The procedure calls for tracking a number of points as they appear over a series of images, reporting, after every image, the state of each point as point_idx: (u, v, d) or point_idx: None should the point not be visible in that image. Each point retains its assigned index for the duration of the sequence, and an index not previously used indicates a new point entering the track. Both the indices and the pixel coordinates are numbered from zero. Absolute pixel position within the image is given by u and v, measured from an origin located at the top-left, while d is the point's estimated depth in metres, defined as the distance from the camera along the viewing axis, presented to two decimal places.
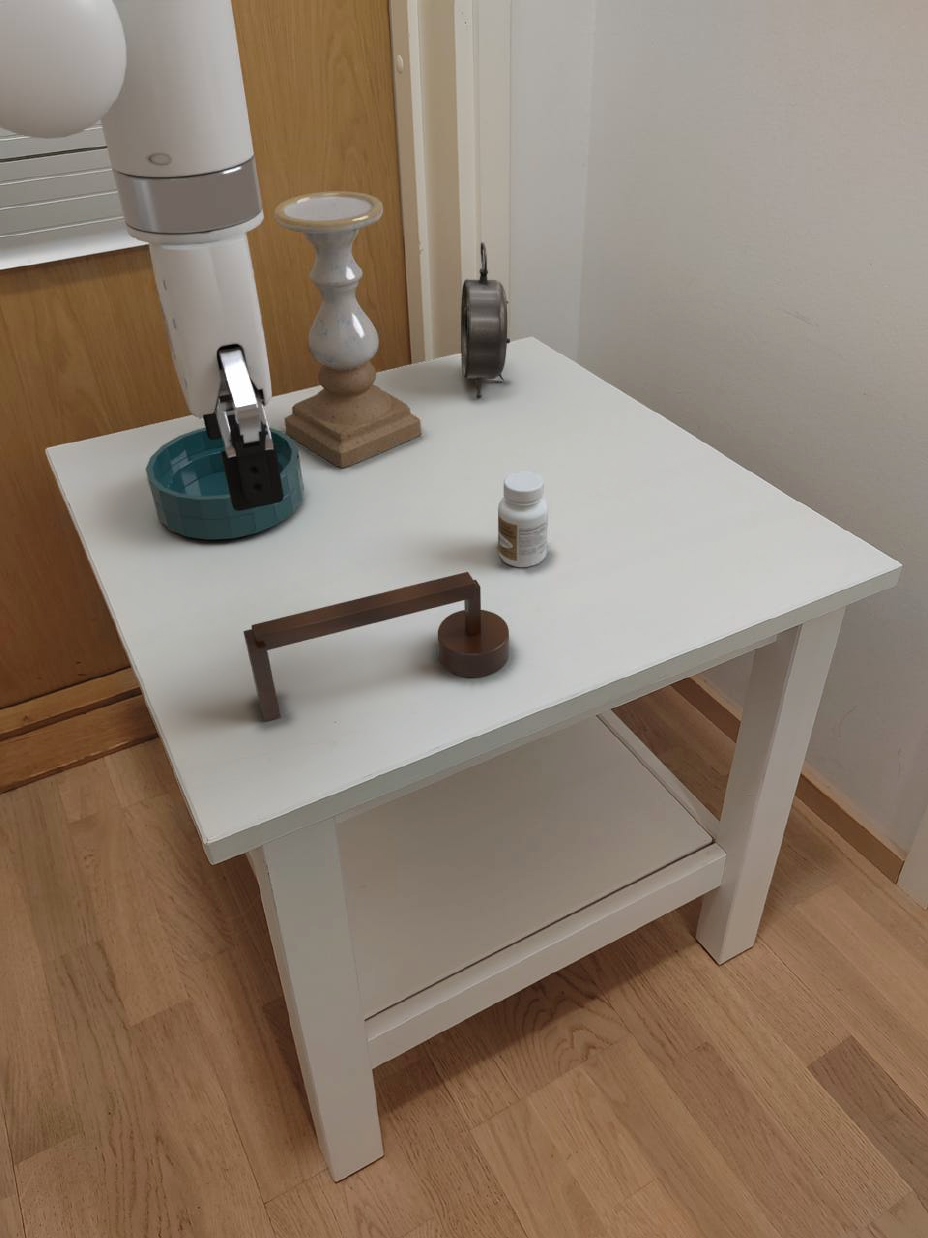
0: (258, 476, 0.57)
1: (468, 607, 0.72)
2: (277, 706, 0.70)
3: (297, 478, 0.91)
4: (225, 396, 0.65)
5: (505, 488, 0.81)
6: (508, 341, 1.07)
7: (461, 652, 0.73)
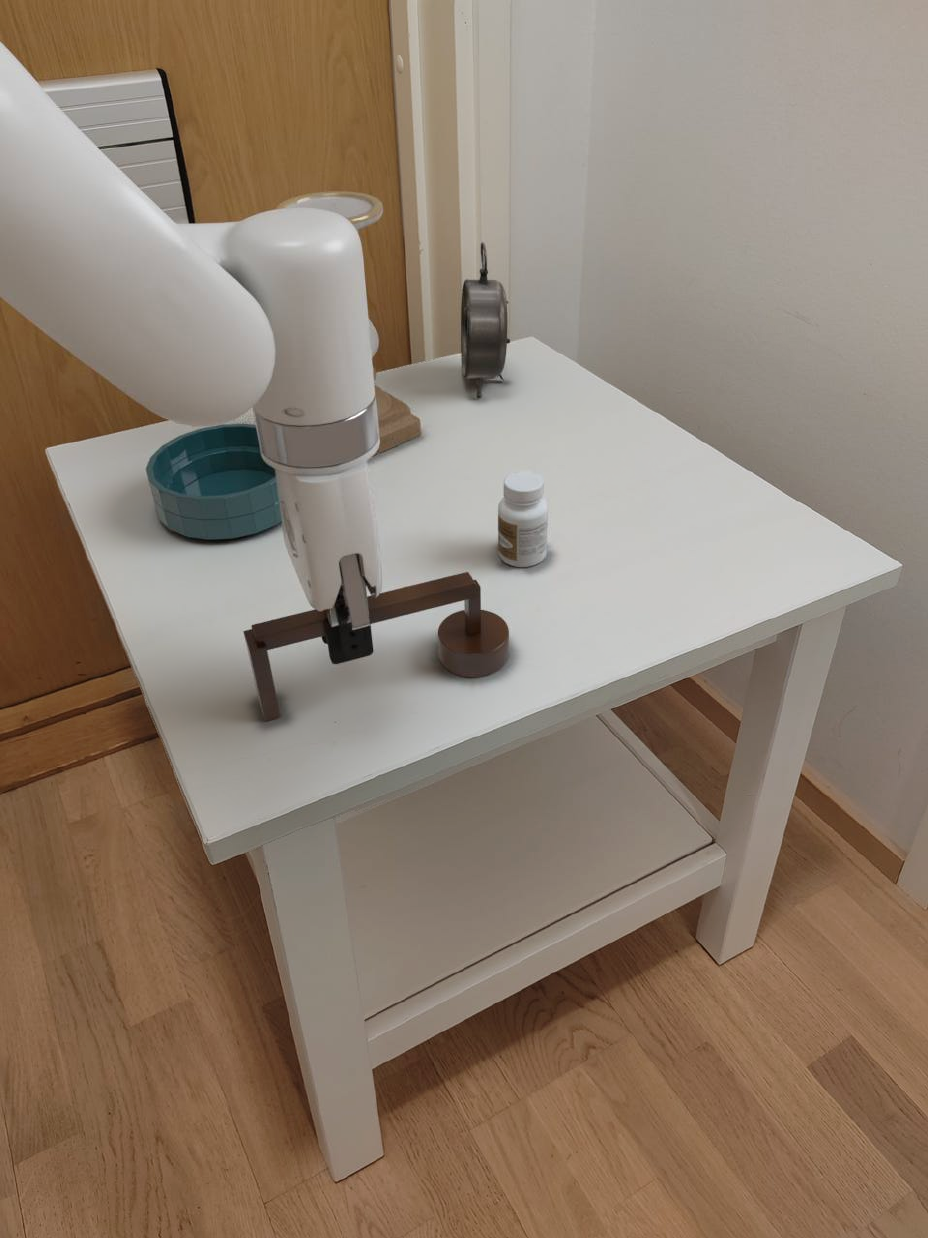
0: (355, 639, 0.68)
1: (468, 607, 0.72)
2: (277, 706, 0.70)
3: None
4: None
5: (505, 488, 0.81)
6: (508, 341, 1.07)
7: (461, 652, 0.73)
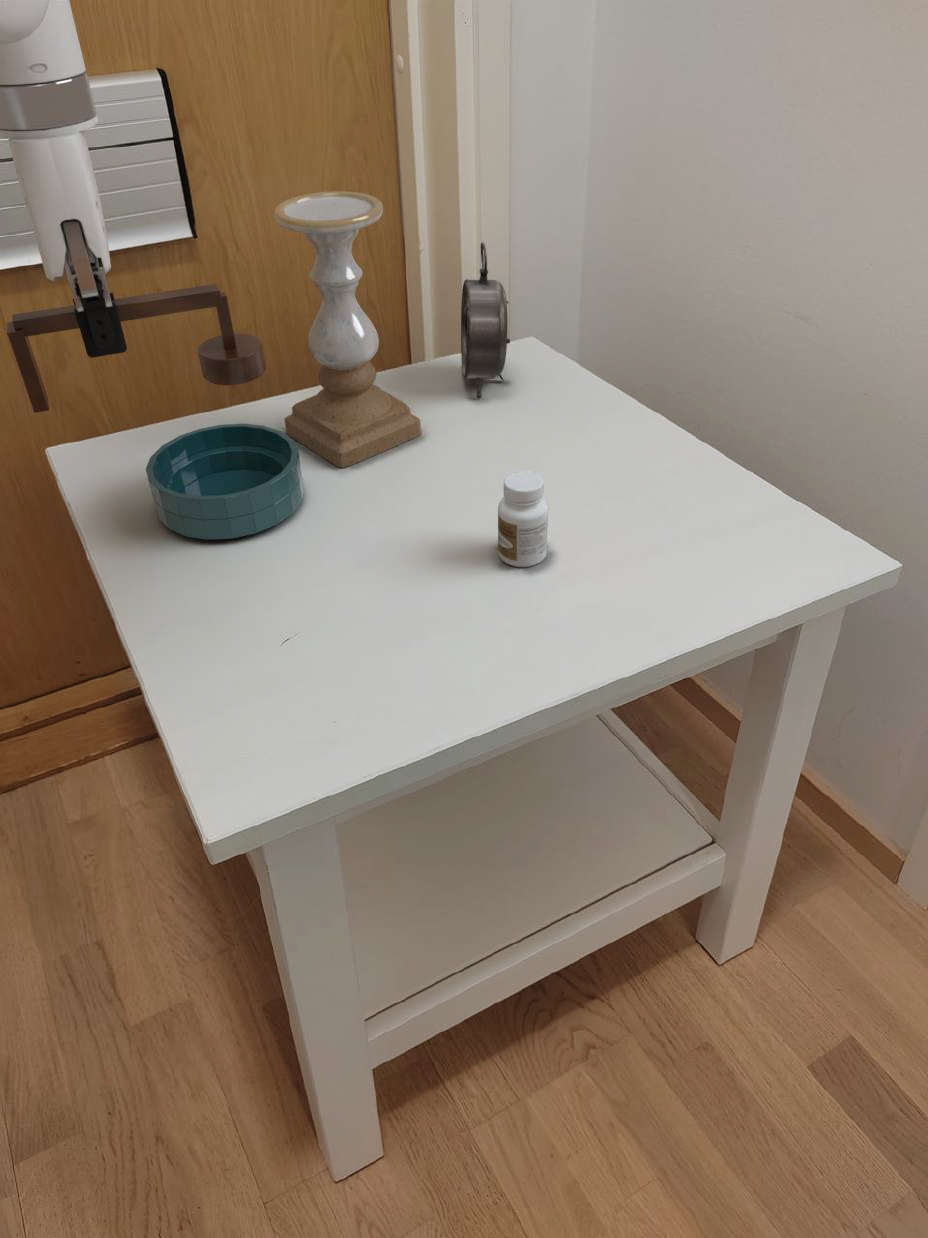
0: (103, 328, 0.77)
1: (219, 317, 0.82)
2: (43, 397, 0.80)
3: (297, 478, 0.91)
4: None
5: (505, 488, 0.81)
6: (508, 341, 1.07)
7: (213, 358, 0.82)
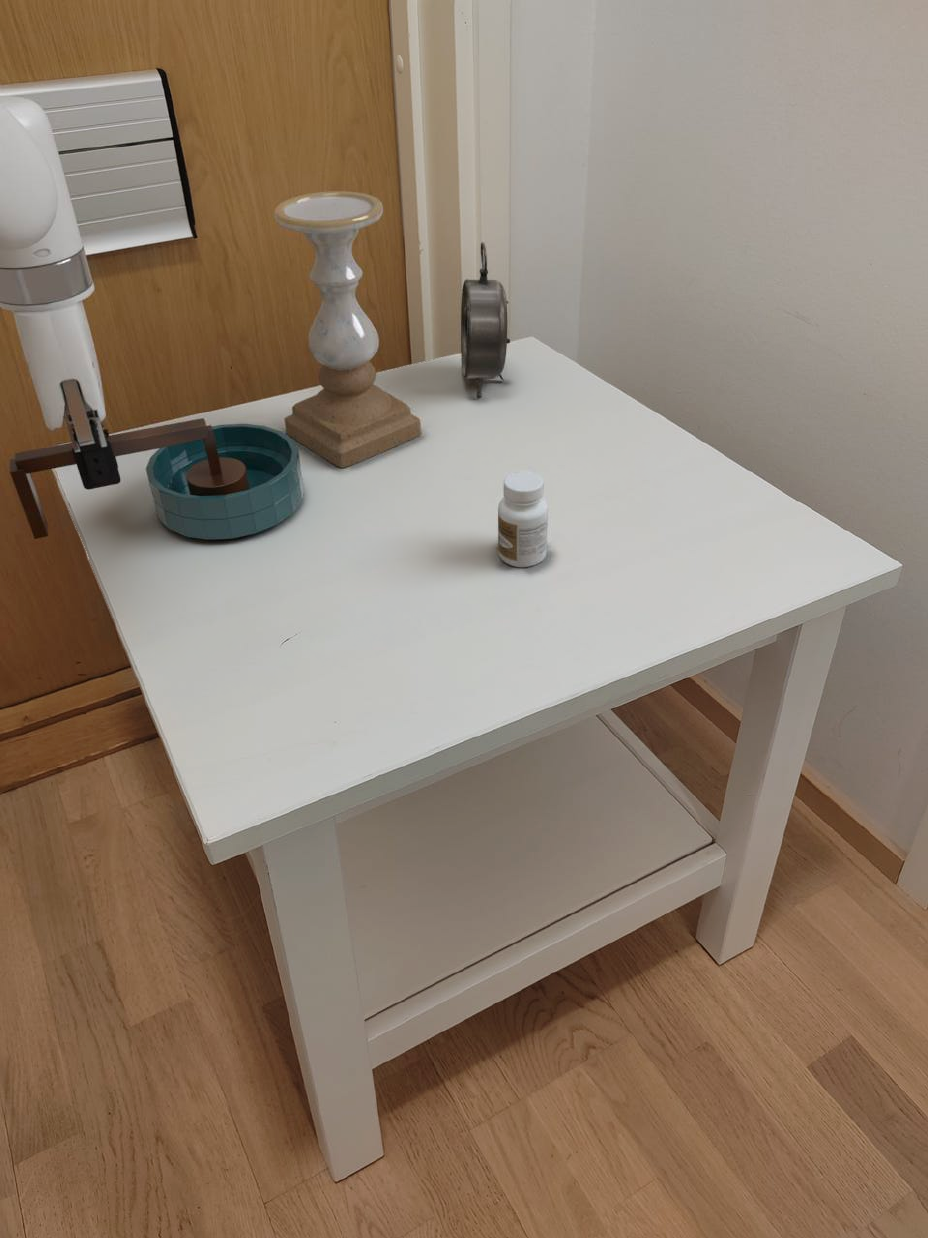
0: (98, 465, 0.84)
1: (205, 448, 0.88)
2: (43, 525, 0.86)
3: (297, 478, 0.91)
4: None
5: (505, 488, 0.81)
6: (508, 341, 1.07)
7: (200, 485, 0.89)
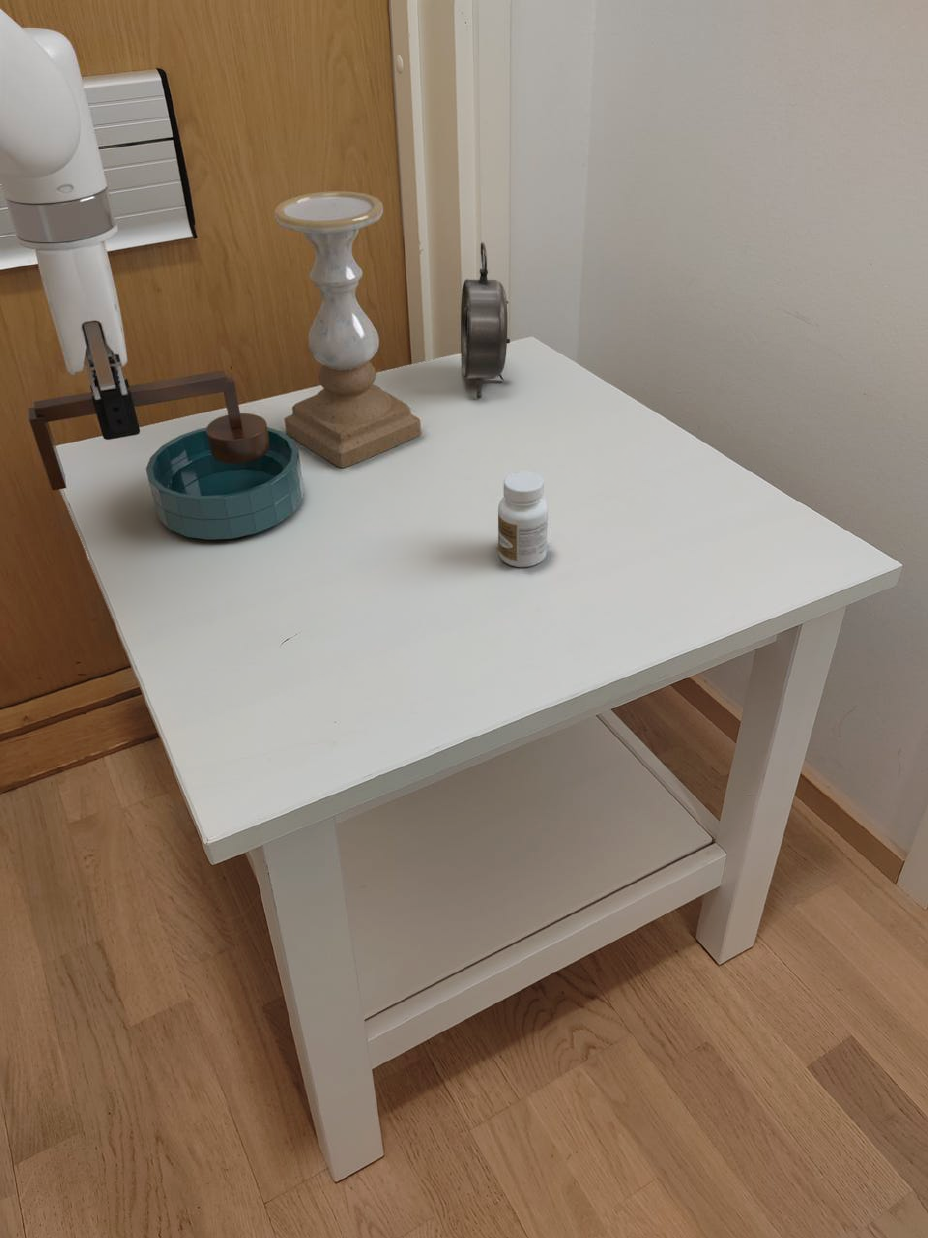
0: (118, 414, 0.83)
1: (226, 401, 0.87)
2: (61, 476, 0.85)
3: (297, 478, 0.91)
4: None
5: (505, 488, 0.81)
6: (508, 341, 1.07)
7: (220, 439, 0.87)
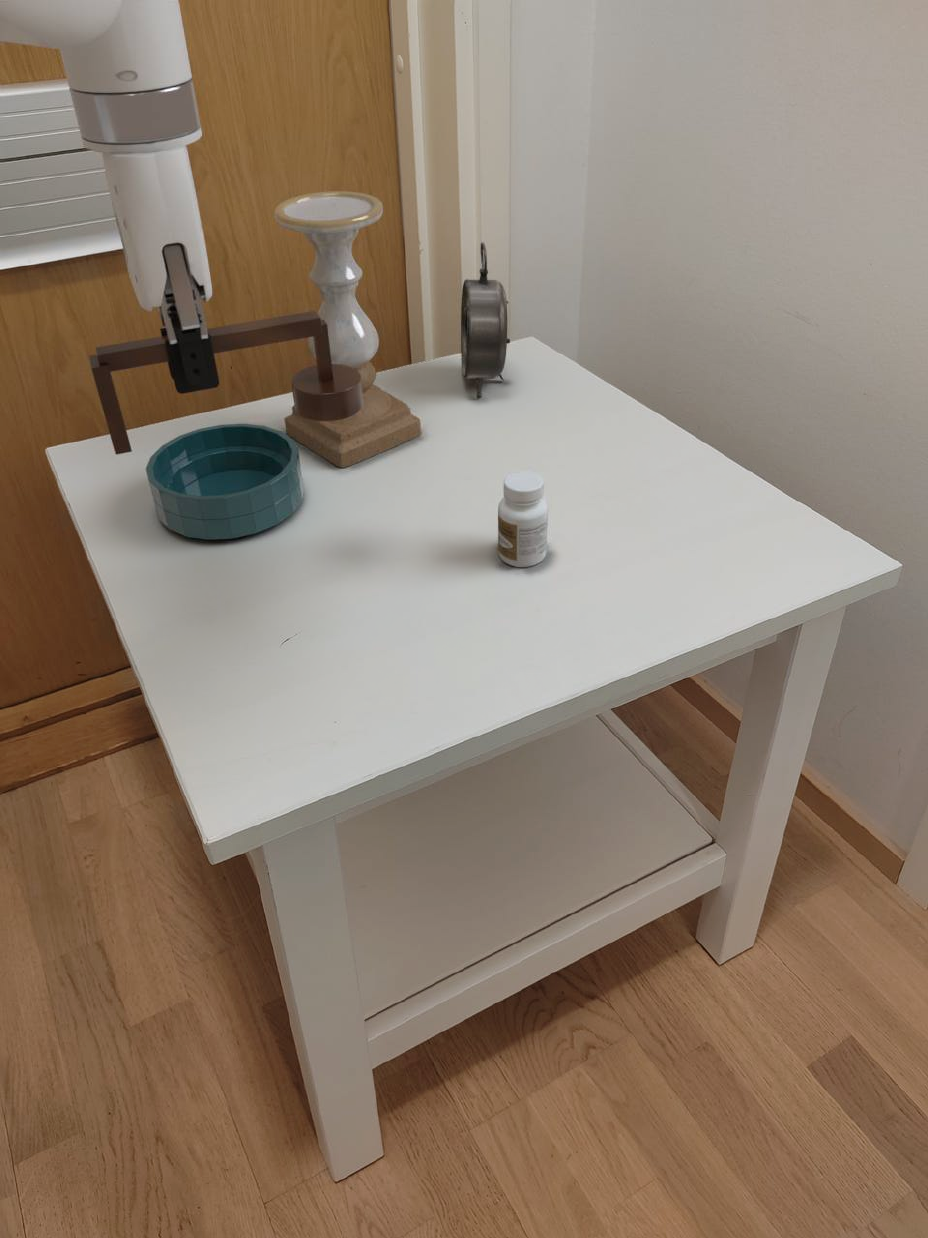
0: (196, 362, 0.70)
1: (317, 347, 0.74)
2: (127, 437, 0.72)
3: (297, 478, 0.91)
4: None
5: (505, 488, 0.81)
6: (508, 341, 1.07)
7: (310, 392, 0.74)
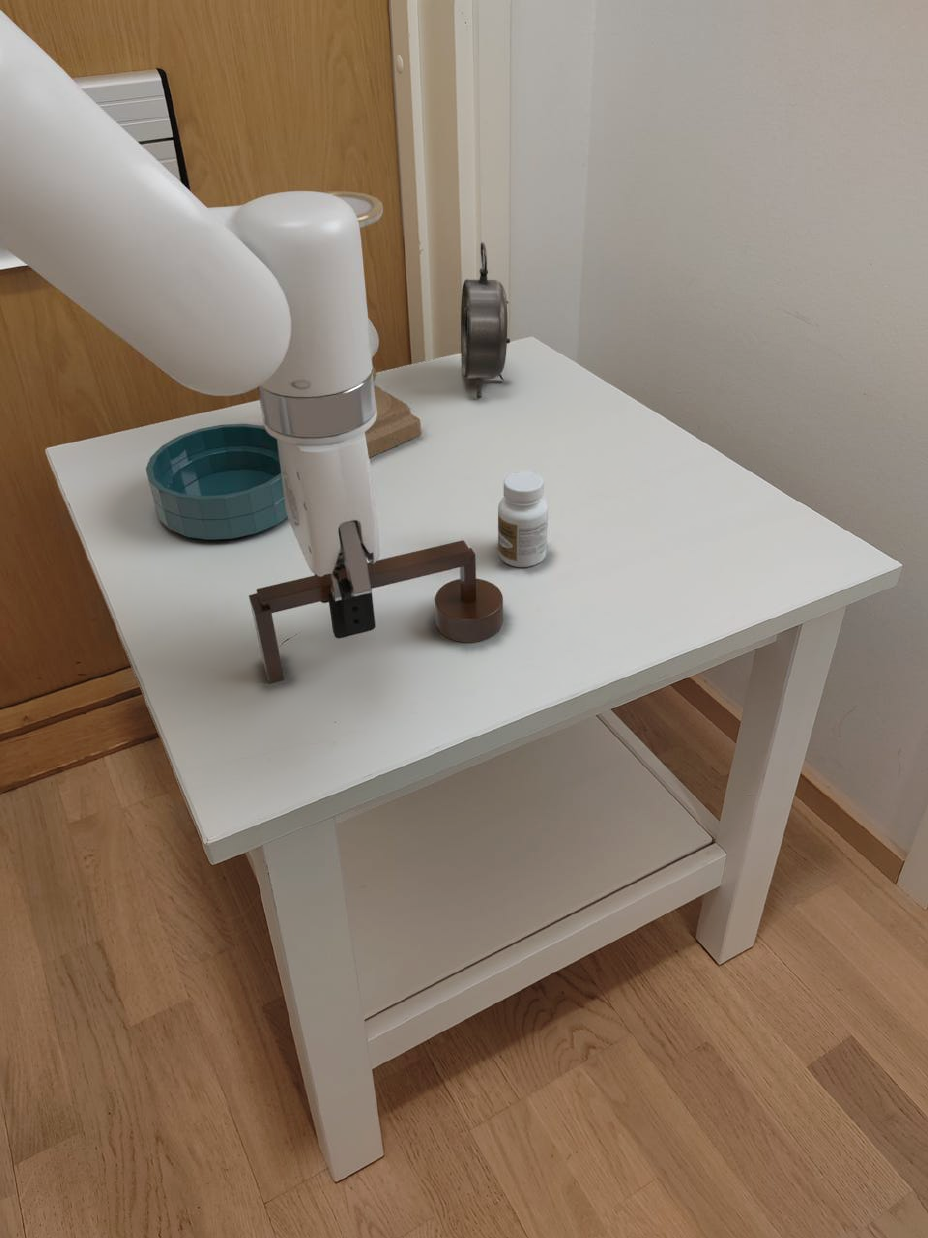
0: (357, 613, 0.70)
1: (464, 574, 0.76)
2: (281, 668, 0.74)
3: None
4: None
5: (505, 488, 0.81)
6: (508, 341, 1.07)
7: (456, 618, 0.76)
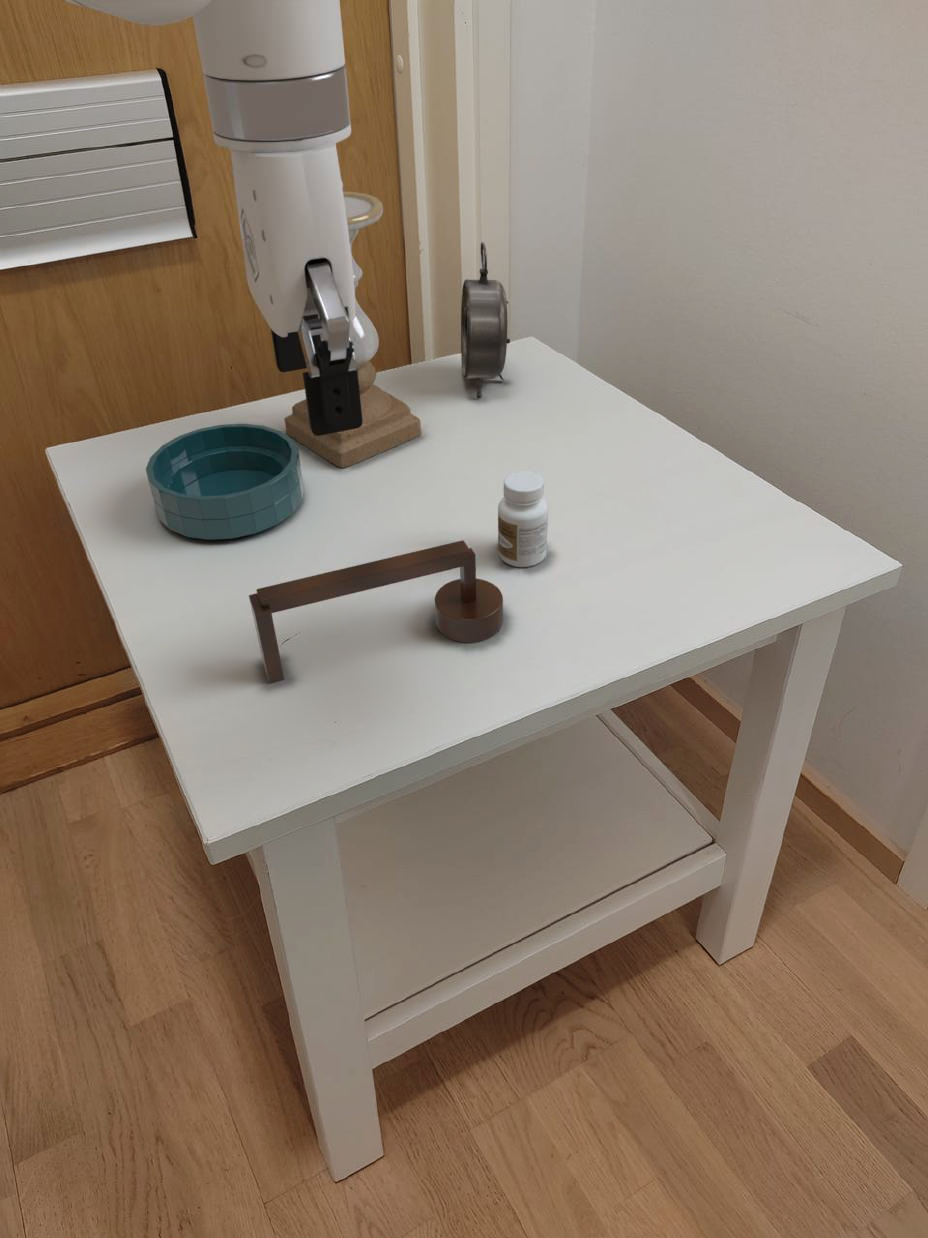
0: (340, 398, 0.57)
1: (464, 574, 0.76)
2: (281, 668, 0.74)
3: (297, 478, 0.91)
4: None
5: (505, 488, 0.81)
6: (508, 341, 1.07)
7: (456, 618, 0.76)
